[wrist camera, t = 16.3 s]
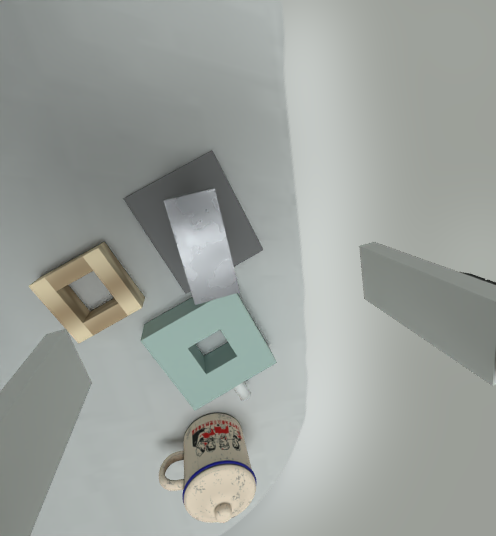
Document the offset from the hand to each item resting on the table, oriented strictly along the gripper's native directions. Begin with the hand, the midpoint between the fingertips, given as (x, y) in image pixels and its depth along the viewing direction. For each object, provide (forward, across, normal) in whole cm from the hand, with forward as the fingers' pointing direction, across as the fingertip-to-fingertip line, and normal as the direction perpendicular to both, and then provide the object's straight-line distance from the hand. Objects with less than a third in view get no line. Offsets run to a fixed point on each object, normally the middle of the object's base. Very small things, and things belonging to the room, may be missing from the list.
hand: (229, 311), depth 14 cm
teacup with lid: (+24, -7, -31) cm, 40 cm away
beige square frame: (+24, -13, -4) cm, 28 cm away
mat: (+24, 0, 0) cm, 24 cm away
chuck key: (+24, 0, 0) cm, 24 cm away
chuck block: (+24, -2, -16) cm, 29 cm away
